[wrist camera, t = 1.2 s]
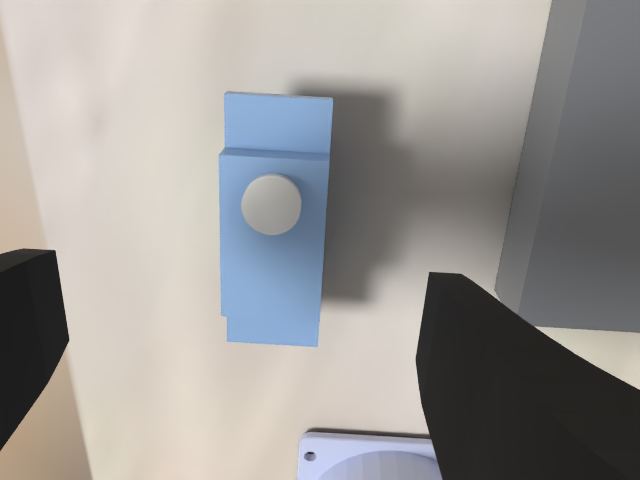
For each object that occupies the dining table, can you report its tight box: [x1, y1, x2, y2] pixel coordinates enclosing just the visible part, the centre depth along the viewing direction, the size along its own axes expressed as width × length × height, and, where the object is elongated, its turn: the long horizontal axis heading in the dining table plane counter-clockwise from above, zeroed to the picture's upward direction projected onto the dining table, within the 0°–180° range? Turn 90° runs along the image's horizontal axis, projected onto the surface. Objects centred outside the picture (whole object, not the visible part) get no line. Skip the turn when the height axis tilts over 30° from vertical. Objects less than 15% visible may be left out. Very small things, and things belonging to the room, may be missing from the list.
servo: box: [219, 91, 333, 347], centre depth 17 cm, size 8×3×5 cm, turn 177°
